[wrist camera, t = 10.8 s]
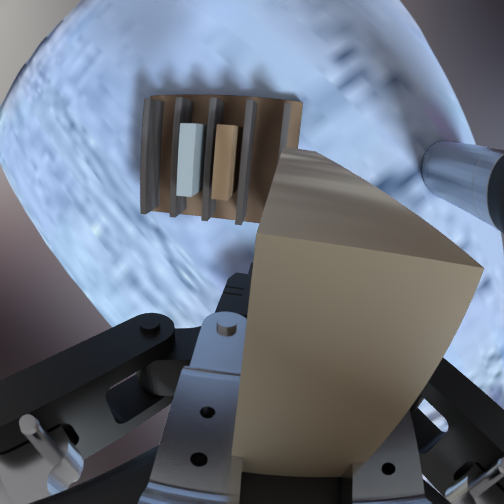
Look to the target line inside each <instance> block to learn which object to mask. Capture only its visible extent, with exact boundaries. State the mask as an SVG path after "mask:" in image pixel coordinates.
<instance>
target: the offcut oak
mask: <svg viewBox="0 0 504 504" xmlns="http://www.w3.org/2000/svg"><path fill="white" fill-rule="evenodd" d="M242 131H243V127H239V126H235V125H219V124H217V129H216V141H215V153H214V166H213V181H212V196H211V199H217V200H226V201H228V200H229V199H230V197H231V196H232V195H233V194H234V193H235V192H236V191H237V185H238V174H239V163H240V152H241V141H242Z"/></svg>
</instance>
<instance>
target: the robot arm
mask: <svg viewBox="0 0 504 504" xmlns="http://www.w3.org/2000/svg"><path fill="white" fill-rule="evenodd" d="M422 176H423V179H424V182H425V184H426V186H427V188H428V189H429V190H430V192H432V193H433V194H434V195H436V196H438V197H440V198H442V199H444V200H446V201H447V202H449V203H451V204H453V205H455V206H457V207H459V208H461V209H463V210H464V211H466V212H468V213H470V214H472V215H474V216H475V217H477V218H479V219H481V220H482V221H484V222H486V223H488V224H489V225H491V226H493V227H494V228H496V229H498V230H500V231H501V232H503V234H504V150H502V149H496V148H490V147H484V146H478V145H471V144H464V143H457V142H448V141H440V142H436V143H434V144H433V145H432V146H430V147H429V149H428V150H427V151H426V153H425V155H424V158H423V162H422ZM252 270H253V263H251V266H250V270H249V273H248V274H241V273H235V274H234V275H232V276H231V277H230V278H228V281H227V283H226V286H225V288H224V291H223V293H222V296H221V298H220V301H219V303H218V306H217V308H216V311H215V313H213V314H211V315H209V316H207V317H206V318H205V319H204V321H203V323H202V326H199V327H195V328H179V329H175V327H174V323H173V321H172V320H171V319H170V318H169V317H167V316H165V315H162V314H158V313H145V314H141V315H138V316H136V317H134V318H131V319H129V320H127V321H125V322H123V323H121V324H119V325H117V326H115V327H113V328H110V329H109V330H106V331H104V332H102V333H100V334H98V335H96V336H94V337H92V338H89V339H88V340H85V341H83V342H81V343H79V344H77V345H75V346H73V347H70V348H68V349H66V350H64V351H62V352H60V353H58V354H56V355H53V356H51V357H49V358H47V359H45V360H43V361H41V362H38V363H36V364H34V365H32V366H30V367H28V368H26V369H24V370H21V371H19V372H17V373H15V374H13V375H10V376H8V377H6V378H4V379H2V380H0V478H1V480H2V482H3V484H4V486H5V488H6V490H7V492H8V494H9V496H10V498H11V500H12V502H13V503H14V504H504V410H503V409H502V408H501V407H500V406H499V405H498V404H497V403H496V402H494V401H493V400H492V399H491V398H490V397H489V396H488V395H487V394H485V393H484V392H483V391H482V390H481V389H480V388H478V387H477V386H476V385H475V384H474V383H473V382H472V381H470V380H469V379H468V378H467V377H466V376H465V375H463V374H462V373H461V372H460V371H459V370H457V369H456V368H455V367H454V366H453V365H452V364H450V363H449V362H448V361H447V360H446V359H444V358H442V360H441V361H440V363H439V365H438V366H437V368H436V370H435V371H434V373H433V374H432V376H431V378H430V379H429V381H428V382H427V384H426V385H425V387H424V389H423V390H422V392H421V393H420V394H419V396H418V397H417V399H416V400H415V402H414V403H413V405H412V406H411V407H410V409H409V410H408V411H407V413H406V414H405V415H404V417H403V418H402V419H401V421H400V422H399V423H398V425H397V426H396V427H395V428H394V430H393V431H392V432H391V433H390V435H389V436H388V437H387V438H386V439H385V441H384V442H383V443H382V444H381V445H380V447H379V448H378V449H377V450H376V451H375V452H374V453H373V454H372V456H371V457H370V458H369V459H368V460H367V461H366V462H355V463H352V464H351V465H350V466H349V467H348V468H347V469H346V470H345V472H344V473H343V474H342V477H295V476H279V475H267V474H258V473H249V472H242V460H243V457H239V456H233V455H232V446H233V437H234V429H235V420H236V411H237V403H238V394H239V385H240V376H241V368H242V359H243V350H244V341H245V332H246V323H247V314H248V306H249V297H250V288H251V279H252ZM135 372H136V375H134V376H132V377H131V378H129V379H127V380H126V381H124V382H122V383H120V384H118V385H117V386H115V387H113V388H112V389H110V390H108V389H109V388H110V387H111V386H113V385H114V384H116V383H118V382H120V381H121V380H123V379H125V378H127V377H128V376H130V375H132V374H133V373H135ZM424 398H425V399H426V400H427V401H428V402H429V403H430V404H431V405H432V406H433V407H434V408H435V409H436V410H437V411H438V412H439V413H440V414H441V415H442V416H443V417H444V418H445V419H446V420H447V422H448V426H449V427H448V431H447V432H442V431H441V430H440V429H439V428H438V427H437V426H436V425H434V424H433V423H432V422H431V421H430V420H429V419H428V418H427V417H426V416H425V415H424V414H423V413H422V412H421V411H420V410H419V409H418V406H419V405H420V404H421V402H422V401H423V399H424ZM169 404H171V407H170V410H169V413H168V417H167V420H166V424H165V427H164V430H163V434H162V437H161V441H160V444H159V445H158V446H156V447H154V448H152V449H150V450H148V451H146V452H145V453H143V454H141V455H139V456H137V457H135V458H133V459H132V460H130V461H128V462H126V463H124V464H122V465H120V466H118V467H116V468H114V469H112V470H110V471H108V472H106V473H103V474H101V475H99V476H97V477H95V478H93V479H90V480H88V481H86V482H84V483H81V484H79V485H77V486H74V487H72V488H69V489H68V487H69V485H70V484H71V483H72V482H75V481H77V480H78V479H79V478H80V474H81V472H82V470H83V460H84V459H85V458H87V457H89V456H91V455H92V454H94V453H96V452H97V451H99V450H101V449H102V448H104V447H105V446H107V445H109V444H110V443H112V442H114V441H115V440H117V439H118V438H120V437H122V436H123V435H125V434H126V433H128V432H129V431H131V430H132V429H134V428H135V427H137V426H138V425H140V424H142V423H143V422H144V421H146V420H148V419H149V418H150V417H152V416H153V415H155V414H156V413H158V412H159V411H161V410H162V409H164V408H165V407H166V406H168V405H169ZM422 474H423V475H424V476H425V477H426V478H427V479H428V480H429V481H430V482H431V483H432V485H433V486H434V487H435V488H436V489H437V490H438V491H439V492H440V493H441V494H442V495H443V496H444V497H445V498H444V497H443V496H442V495H441V494H440V493H439V492H437V491H436V490H435V489H434V488H433V487H432V486H430V485H429V484H428V483H427V482H426V481H425V480H423V477H422Z"/></svg>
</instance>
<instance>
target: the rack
mask: <svg viewBox="0 0 504 504" xmlns="http://www.w3.org/2000/svg"><path fill="white" fill-rule="evenodd" d="M302 107H303V102H297V101H290V100H281V99H272V98H261V97H249V96H232V95H158V96H151V98H148V99H144V111H143V124H142V142H141V173H140V207H141V214H147V213H149V212H150V211H156V212H166V213H170V217H176V216H178V215H179V214H185V215H195V216H202V219H201V220H202V221H208V220H209V219H210V217H212V218H221V219H229V220H235V224H236V225H242V223H243V221H246V222H254V223H260V220H261V217H262V214H263V211H264V207H265V204H266V201H267V198H268V194H269V191H270V188H271V185H272V181H273V178H274V175H275V172H276V168H277V165H278V162H279V159H280V155H281V152H282V149H283V147H287V148H295V149H298V143H299V134H300V125H301V116H302ZM180 123H195V124H204V125H207V137H206V150H205V164H204V180H203V190H201V191H200V192H198V193H197V194H195V195H194V196H192V197H186V196H176V192H177V166H178V148H179V133H180ZM217 124H219V125H235V126H239V127H243V131H242V141H241V152H240V163H239V174H238V185H237V191H236V192H235V193H234V194H233V195H232V196H231V197H230V199H229V200H228V201H226V200H217V199H211V196H212V181H213V166H214V153H215V141H216V129H217Z"/></svg>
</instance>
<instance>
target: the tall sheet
mask: <svg viewBox="0 0 504 504" xmlns="http://www.w3.org/2000/svg"><path fill="white" fill-rule="evenodd" d="M483 270H484V268H483V267H482V266H481V265H480V264H479V263H478V262H476V261H475V260H474V259H473V258H472V257H471V256H469V255H468V254H467V253H466V252H465V251H463V250H462V249H461V248H460V247H458V246H457V245H456V244H455V243H454V242H452V241H451V240H450V239H448V238H447V237H446V236H445V235H443V234H442V233H441V232H439V231H438V230H437V229H436V228H434V227H433V226H432V225H430V224H429V223H428V222H426V221H425V220H423V219H422V218H421V217H419V216H418V215H417V214H415V213H414V212H412V211H411V210H409V209H408V208H407V207H405V206H404V205H402V204H401V203H399V202H398V201H396V200H395V199H393V198H392V197H390V196H389V195H387V194H386V193H384V192H383V191H381V190H380V189H378V188H377V187H375V186H373V185H372V184H370V183H369V182H367V181H366V180H364V179H362V178H361V177H359V176H357V175H356V174H354V173H352V172H351V171H349V170H347V169H346V168H344V167H342V166H341V165H339V164H337V163H335V162H334V161H332V160H330V159H328V158H326V157H325V156H323V155H321V154H319V153H317V152H315V151H308V150H302V149H295V148H287V147H283V149H282V152H281V155H280V159H279V162H278V165H277V168H276V172H275V175H274V178H273V181H272V185H271V188H270V191H269V194H268V198H267V201H266V204H265V207H264V211H263V214H262V217H261V220H260V224H259V227H258V230H257V234H256V243H255V252H254V261H253V270H252V279H251V288H250V297H249V306H248V314H247V323H246V332H245V341H244V350H243V359H242V368H241V376H240V385H239V394H238V403H237V411H236V420H235V429H234V437H233V446H232V455H233V456H239V457H243V460H242V472H249V473H258V474H267V475H279V476H295V477H342V474H343V473H344V472H345V470H346V469H347V468H348V467H349V466H350V465H351V464H352V463H355V462H366V461H367V460H368V459H369V458H370V457H371V456H372V454H373V453H374V452H375V451H376V450H377V449H378V448H379V447H380V445H381V444H382V443H383V442H384V441H385V439H386V438H387V437H388V436H389V435H390V433H391V432H392V431H393V430H394V428H395V427H396V426H397V425H398V423H399V422H400V421H401V419H402V418H403V417H404V415H405V414H406V413H407V411H408V410H409V409H410V407H411V406H412V405H413V403H414V402H415V400H416V399H417V397H418V396H419V394H420V393H421V392H422V390H423V389H424V387H425V385H426V384H427V382H428V381H429V379H430V378H431V376H432V374H433V373H434V371H435V370H436V368H437V366H438V365H439V363H440V361H441V360H442V358H443V356H444V354H445V353H446V351H447V349H448V347H449V345H450V343H451V342H452V340H453V338H454V336H455V334H456V332H457V330H458V328H459V326H460V324H461V322H462V320H463V318H464V316H465V314H466V311H467V309H468V307H469V305H470V303H471V300H472V298H473V296H474V293H475V291H476V288H477V286H478V283H479V281H480V278H481V276H482V273H483Z"/></svg>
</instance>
